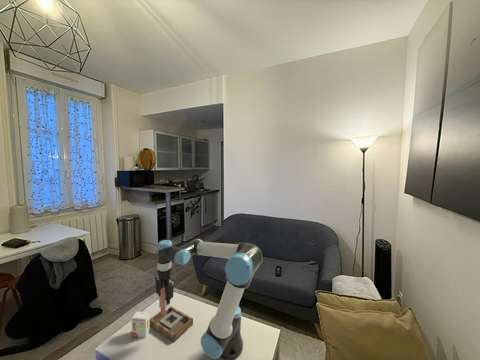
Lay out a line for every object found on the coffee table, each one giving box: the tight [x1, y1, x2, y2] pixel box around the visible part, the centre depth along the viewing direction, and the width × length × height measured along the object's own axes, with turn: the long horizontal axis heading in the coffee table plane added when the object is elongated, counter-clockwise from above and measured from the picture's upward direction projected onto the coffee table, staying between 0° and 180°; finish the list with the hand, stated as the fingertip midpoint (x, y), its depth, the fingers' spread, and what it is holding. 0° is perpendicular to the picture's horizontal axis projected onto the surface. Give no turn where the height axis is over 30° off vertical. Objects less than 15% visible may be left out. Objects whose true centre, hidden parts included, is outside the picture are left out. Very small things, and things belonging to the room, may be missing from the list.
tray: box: [150, 305, 194, 343], centre depth 124 cm, size 22×15×4 cm
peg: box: [159, 287, 168, 315], centre depth 113 cm, size 4×4×14 cm
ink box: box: [131, 311, 151, 338], centre depth 116 cm, size 9×5×12 cm, turn 88°
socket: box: [159, 311, 183, 331], centre depth 124 cm, size 10×10×3 cm
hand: (164, 307), depth 113 cm, fingers closed on peg, 4 cm apart
